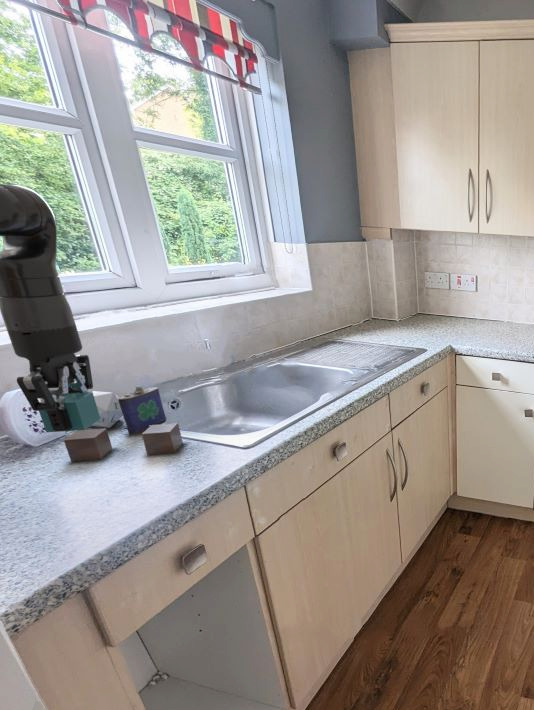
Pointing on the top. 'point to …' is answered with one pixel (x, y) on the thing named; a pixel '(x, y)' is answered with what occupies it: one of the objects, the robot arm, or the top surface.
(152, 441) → the block
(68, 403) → the teal block
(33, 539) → the top surface
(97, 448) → the block
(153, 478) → the top surface
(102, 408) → the die
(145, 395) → the flask
